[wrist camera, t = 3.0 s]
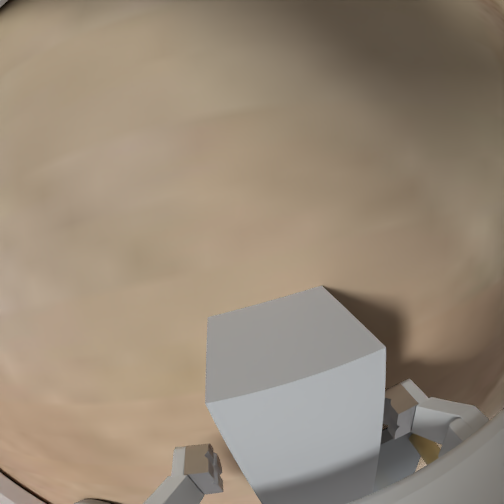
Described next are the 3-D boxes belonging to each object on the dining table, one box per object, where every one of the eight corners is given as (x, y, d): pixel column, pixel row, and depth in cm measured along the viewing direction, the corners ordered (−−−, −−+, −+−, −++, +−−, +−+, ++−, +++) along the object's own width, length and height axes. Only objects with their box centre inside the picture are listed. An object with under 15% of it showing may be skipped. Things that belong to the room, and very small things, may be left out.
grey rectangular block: (207, 315, 11) (205, 403, 6) (320, 284, 11) (385, 347, 6) (264, 459, 13) (279, 529, 8) (339, 437, 13) (371, 500, 9)
